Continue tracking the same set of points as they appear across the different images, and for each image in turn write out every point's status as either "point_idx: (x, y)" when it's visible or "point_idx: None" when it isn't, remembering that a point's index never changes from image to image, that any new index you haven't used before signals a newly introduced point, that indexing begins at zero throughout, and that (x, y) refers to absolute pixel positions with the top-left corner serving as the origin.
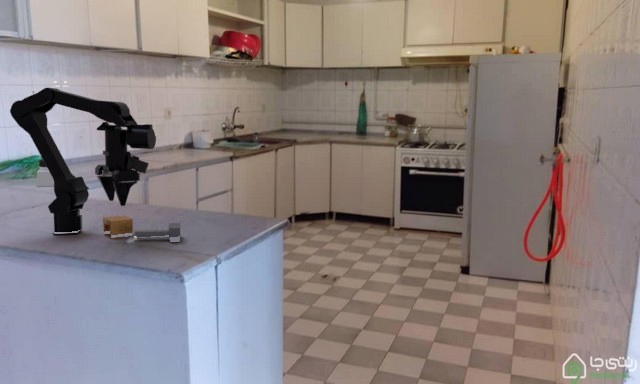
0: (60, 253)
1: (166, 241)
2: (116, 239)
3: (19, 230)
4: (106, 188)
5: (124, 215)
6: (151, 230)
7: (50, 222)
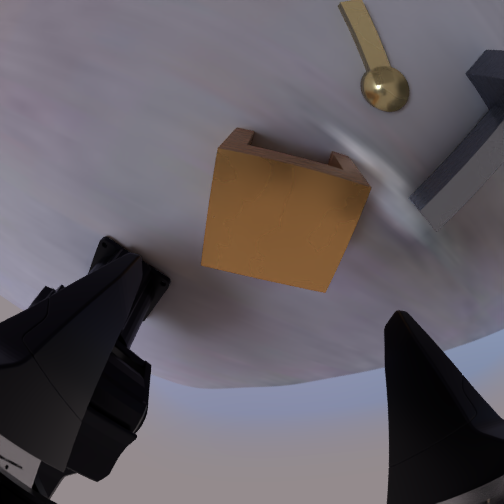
0: (341, 374)
1: None
2: None
3: None
4: (96, 374)
5: (226, 151)
6: (472, 165)
7: (5, 243)
